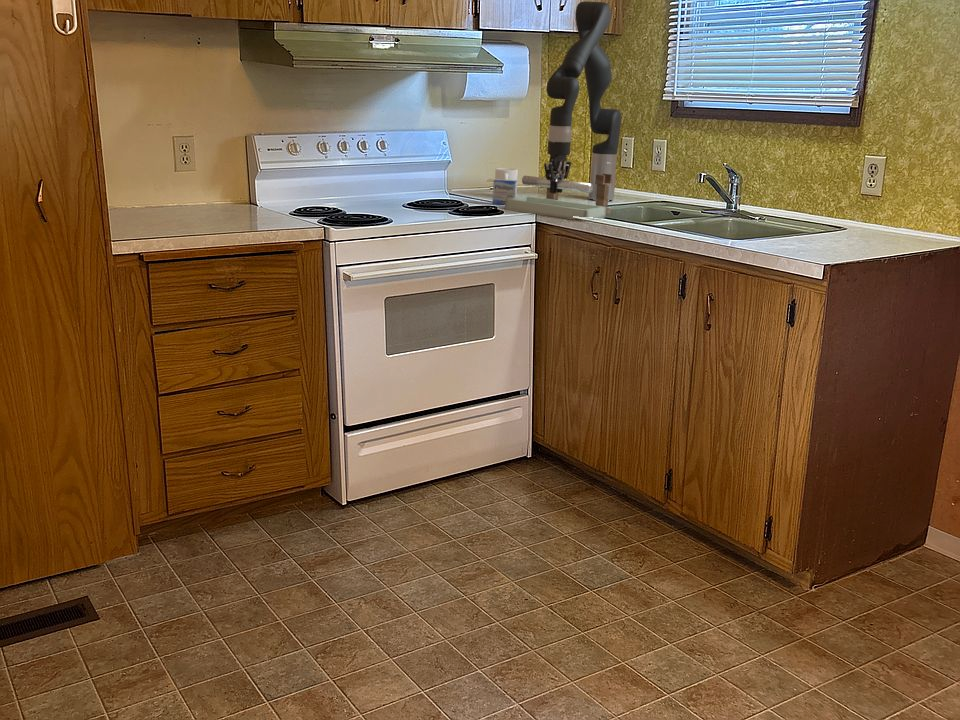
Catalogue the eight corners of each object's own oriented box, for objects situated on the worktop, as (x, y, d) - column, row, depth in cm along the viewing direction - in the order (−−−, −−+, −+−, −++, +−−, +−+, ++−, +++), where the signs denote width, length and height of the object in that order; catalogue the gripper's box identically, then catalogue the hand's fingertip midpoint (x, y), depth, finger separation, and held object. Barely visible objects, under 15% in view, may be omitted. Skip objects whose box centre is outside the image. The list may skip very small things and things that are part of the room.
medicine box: (492, 204, 325) (493, 179, 323) (493, 203, 330) (494, 178, 327) (514, 206, 325) (515, 181, 322) (515, 204, 329) (516, 179, 326)
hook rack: (551, 204, 332) (553, 167, 328) (610, 212, 318) (613, 174, 314) (542, 206, 327) (544, 168, 323) (601, 214, 314) (605, 175, 310)
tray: (525, 205, 326) (526, 195, 325) (605, 217, 308) (606, 206, 307) (504, 209, 316) (505, 198, 315) (585, 221, 298) (586, 210, 297)
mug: (515, 200, 338) (517, 171, 335) (493, 199, 339) (494, 170, 336) (516, 196, 350) (518, 168, 347) (494, 195, 350) (496, 167, 347)
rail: (526, 184, 318) (527, 175, 317) (592, 192, 303) (593, 183, 302) (521, 184, 316) (522, 175, 315) (587, 193, 301) (588, 183, 300)
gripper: (561, 138, 312) (557, 190, 317) (538, 139, 301) (535, 193, 307) (580, 140, 308) (576, 192, 313) (557, 141, 297) (554, 195, 302)
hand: (555, 192), depth 310 cm, fingers closed on rail, 3 cm apart
